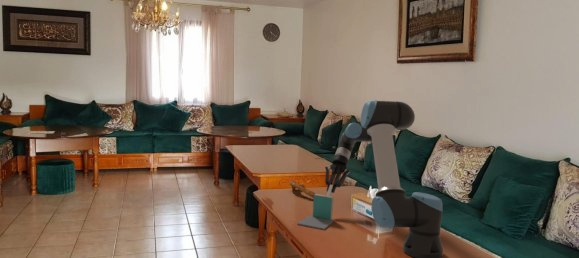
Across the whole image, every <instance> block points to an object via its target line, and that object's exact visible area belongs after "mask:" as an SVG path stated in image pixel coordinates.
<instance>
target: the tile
mask: <svg viewBox="0 0 579 258" xmlns="http://www.w3.org/2000/svg"><path fill="white" fill-rule="evenodd" d="M326 195H327V194H326ZM326 195H325V194H319V193H316V194H315V195H314V198H313V201H312V202H313V204H312V205H313V206H312V217H318V218H323V219H328V220H333V214H334V213H333V212H334V200H335V199H334V198H335V197H334V196H332V195H331V196H326Z"/></svg>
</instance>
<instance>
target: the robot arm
mask: <svg viewBox="0 0 579 258" xmlns="http://www.w3.org/2000/svg"><path fill="white" fill-rule="evenodd" d="M415 118H416V115H415V111H414V110H413V108H412V107H411V106H410V105H409V104H408V103H405V102H404V101H398V100H397V101H395V100H394V101H391V100H377V99H376V100H367V101H366V102H365V103H364V104H363V106H362V109H361V113H360V124H359V123H357V122H351V123H349V124H348V125H347V127H346V128H345V129H344V132H343V133H342V135H341V137H340V140H339V142H338V146H337V149H336V151H335V154H334V156H333V160H332V163H331V164H330V165H329V166H324V167H325V179H324V180H325V181H324V182H325V186H327V188H326V192H327V193H326V196H332V195H333V194H334V193H335V191H336V189H337V188H340V187H342V186H343V183H344V181H345V180H346V179H347V177H348V176H349V175H350V174H351V172H350V169H347V167H348V164H349V160H350V157H351V154H352V152H353V148H354V147H355V144H356V142H370V143H371V145H372V150H373V160H374V166H375V167H374V168H375V175H376V179H377V180H376V181H377V189H378V190H377V191H376V193H375V195H374V196H375V197H373V198H372V200H371V213H372V214H371V215H372V217H373V220H374V222H375V223H376V224H377V225H378V226H379V227H381V228H389V229H393V228H409V230H408V233H407V235H406V237H405V240H404V242H403V244H402V245H403V246H402V251H403V252H404V254H406V255H408V256H410V257H412V258H442V257H444V256H443V253H444V249H443V244H442V239H441V229H442V228H441V227H442V226H441V225H442V218H443V217H442V216H443V201H442V199H441V198H439V197H438V196H435V195H432V194H430V193H425V192H419V191H418V192H417V191H415V192H412V194H411V196H407V194H406V190H405V189H404V188H402V187H401V183H400V176H399V170H398V163H397V157H396V149H395V143H394V137H393V134H395V133H396V132H398V131H404V130H408V129H409V128H411V127H412V125H413V124H414V122H415V120H416V119H415ZM330 172H331V175H330Z"/></svg>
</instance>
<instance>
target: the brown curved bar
mask: <svg viewBox="0 0 579 258" xmlns="http://www.w3.org/2000/svg"><path fill="white" fill-rule="evenodd" d="M289 185H290V186H291V189H292V190H296V189H298V190H299V191H301V192H302V193H303V194H306V195H308V196H309V197H310V198H312V199H314V195H315V194H317V193H316V192H314V191H312V190H310V189H308V188H306V185H304V184H303V183H297V182H296V181H294V180H290V181H289Z"/></svg>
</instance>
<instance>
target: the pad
mask: <svg viewBox="0 0 579 258" xmlns="http://www.w3.org/2000/svg"><path fill="white" fill-rule="evenodd" d="M334 222H335V220H334V219H332V220H328V219H323V218H318V217H313V215H307V216H305V218H303V219H301V220H300V221H298V222H297V226H303V227H307V228H312V229H319V230H323V231H326V229H327V228H329V227H330V226H331V225H332V224H334Z"/></svg>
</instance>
